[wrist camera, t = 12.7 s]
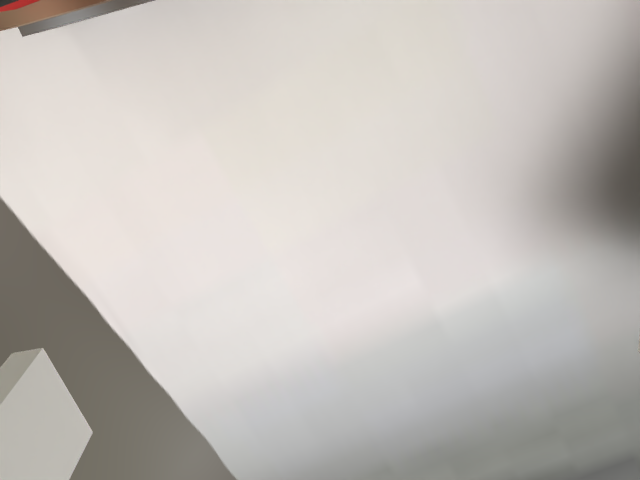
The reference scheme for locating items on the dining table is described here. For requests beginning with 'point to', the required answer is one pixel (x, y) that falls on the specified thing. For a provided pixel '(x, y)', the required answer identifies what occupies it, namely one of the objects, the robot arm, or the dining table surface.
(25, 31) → the plinth
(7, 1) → the puzzle toy
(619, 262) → the dining table surface
